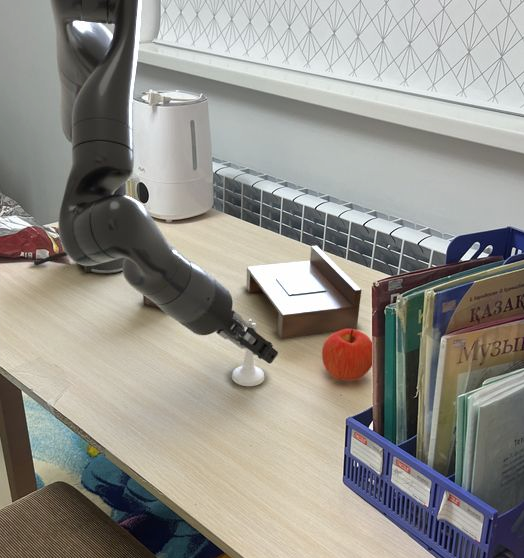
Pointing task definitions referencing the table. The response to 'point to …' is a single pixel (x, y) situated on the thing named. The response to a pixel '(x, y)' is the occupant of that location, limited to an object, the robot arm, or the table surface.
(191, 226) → the table surface
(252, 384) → the chess piece
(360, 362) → the apple
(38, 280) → the table surface
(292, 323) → the shelf
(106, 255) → the robot arm
